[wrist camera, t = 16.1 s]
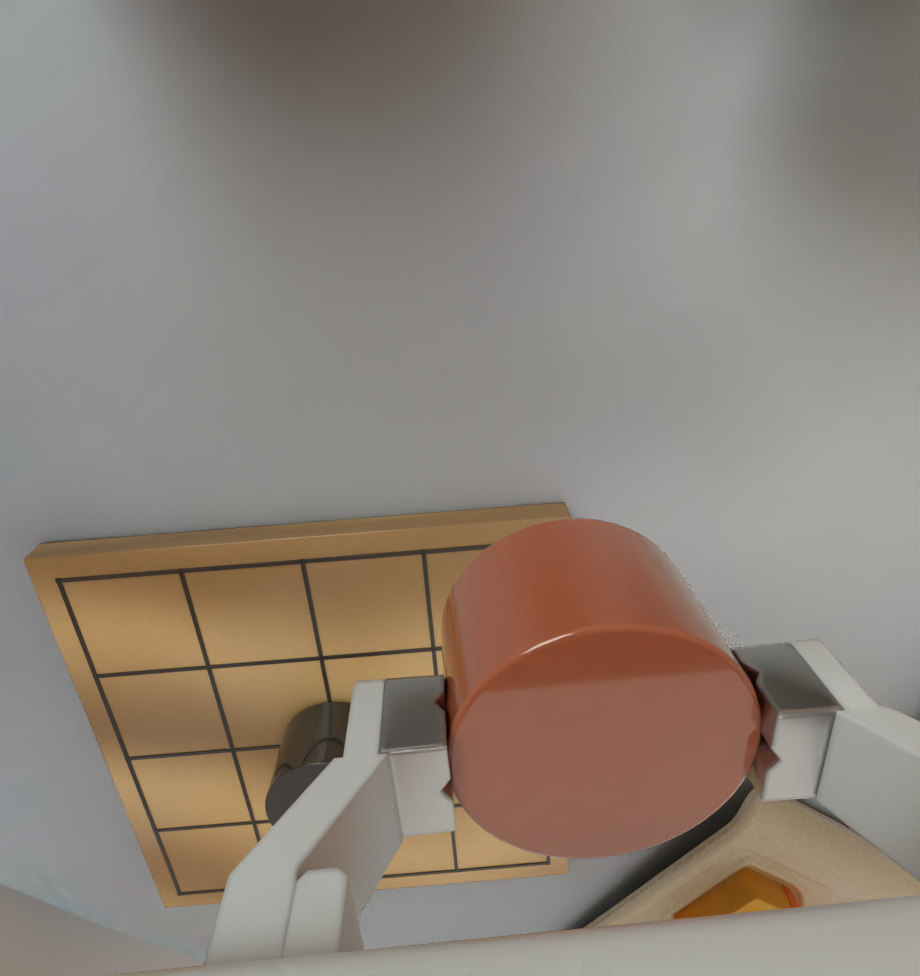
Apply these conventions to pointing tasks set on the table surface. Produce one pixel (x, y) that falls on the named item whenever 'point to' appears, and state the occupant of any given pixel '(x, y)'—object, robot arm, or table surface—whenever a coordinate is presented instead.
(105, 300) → the table surface
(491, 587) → the clay cylinder
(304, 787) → the black stone
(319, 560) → the go board
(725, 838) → the puzzle board
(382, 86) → the table surface
